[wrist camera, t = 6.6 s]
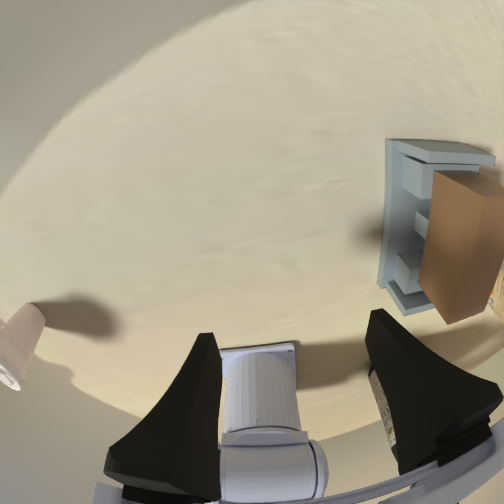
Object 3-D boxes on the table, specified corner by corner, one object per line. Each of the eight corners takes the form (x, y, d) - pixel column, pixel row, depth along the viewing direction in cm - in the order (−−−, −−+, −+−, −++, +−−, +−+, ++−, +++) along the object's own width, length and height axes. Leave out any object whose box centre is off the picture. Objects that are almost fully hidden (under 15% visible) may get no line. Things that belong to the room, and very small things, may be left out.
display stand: (442, 268, 22) (468, 297, 18) (376, 282, 23) (398, 317, 19) (460, 142, 16) (499, 156, 12) (385, 138, 17) (422, 151, 12)
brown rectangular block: (452, 274, 18) (483, 311, 14) (416, 282, 19) (447, 325, 14) (471, 170, 14) (518, 195, 10) (433, 170, 14) (483, 197, 10)
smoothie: (21, 284, 22) (-41, 373, 10) (60, 320, 25) (10, 418, 13) (13, 308, 24) (-36, 387, 12) (47, 340, 27) (6, 423, 14)
